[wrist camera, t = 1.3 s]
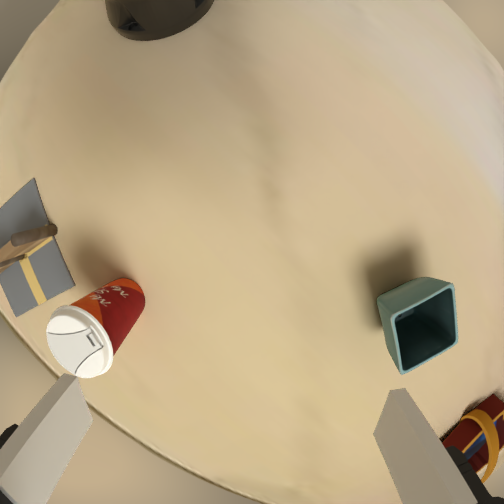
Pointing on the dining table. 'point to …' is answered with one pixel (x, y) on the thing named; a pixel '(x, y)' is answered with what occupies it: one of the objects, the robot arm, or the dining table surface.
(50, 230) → the fixed fence panel and posts
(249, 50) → the dining table surface
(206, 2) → the robot arm
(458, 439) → the decorative basket
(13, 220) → the board
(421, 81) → the dining table surface
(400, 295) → the flower pot
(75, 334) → the paper cup
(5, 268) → the hinged fence panel
